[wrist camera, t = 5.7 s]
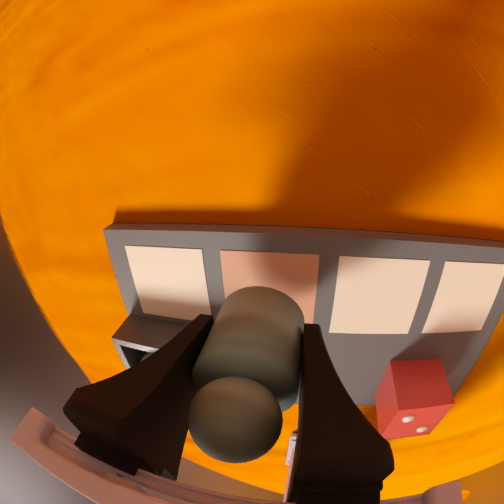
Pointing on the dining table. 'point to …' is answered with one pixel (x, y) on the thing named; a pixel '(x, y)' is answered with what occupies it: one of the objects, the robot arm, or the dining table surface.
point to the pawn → (247, 375)
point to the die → (412, 398)
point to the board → (317, 290)
